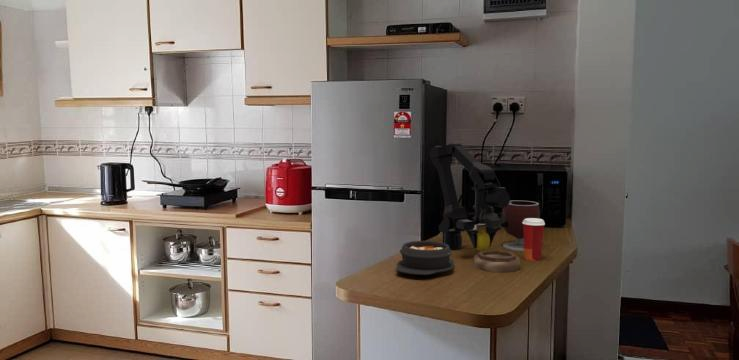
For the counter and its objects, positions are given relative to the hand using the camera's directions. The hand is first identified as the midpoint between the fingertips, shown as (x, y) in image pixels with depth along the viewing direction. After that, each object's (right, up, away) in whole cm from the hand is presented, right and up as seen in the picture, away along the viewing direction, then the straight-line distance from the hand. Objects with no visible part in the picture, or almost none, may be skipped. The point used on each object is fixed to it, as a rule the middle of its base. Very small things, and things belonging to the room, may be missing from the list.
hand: (481, 247), depth 225 cm
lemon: (0, -2, 0) cm, 2 cm away
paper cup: (+17, -4, -3) cm, 18 cm away
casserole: (-22, -6, -19) cm, 29 cm away
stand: (+3, -5, -14) cm, 15 cm away
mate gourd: (+16, -2, +16) cm, 23 cm away
